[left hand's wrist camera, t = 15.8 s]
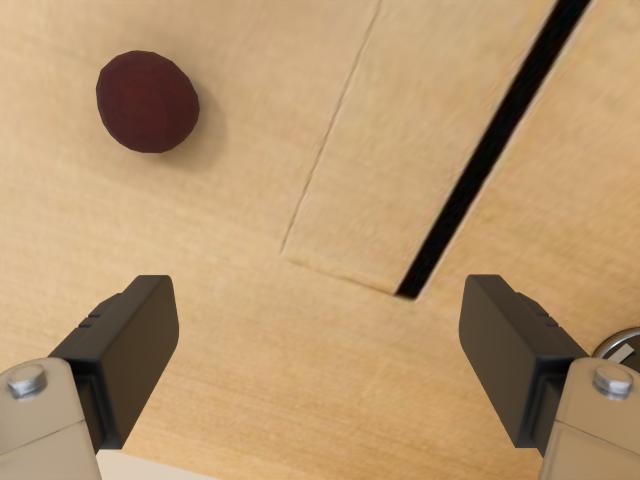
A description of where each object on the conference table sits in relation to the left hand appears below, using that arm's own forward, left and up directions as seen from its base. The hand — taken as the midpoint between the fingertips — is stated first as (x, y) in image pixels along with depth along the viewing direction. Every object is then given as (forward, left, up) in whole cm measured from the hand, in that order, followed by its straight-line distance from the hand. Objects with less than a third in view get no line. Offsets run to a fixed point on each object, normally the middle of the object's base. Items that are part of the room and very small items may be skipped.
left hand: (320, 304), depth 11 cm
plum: (+13, -4, -28) cm, 31 cm away
